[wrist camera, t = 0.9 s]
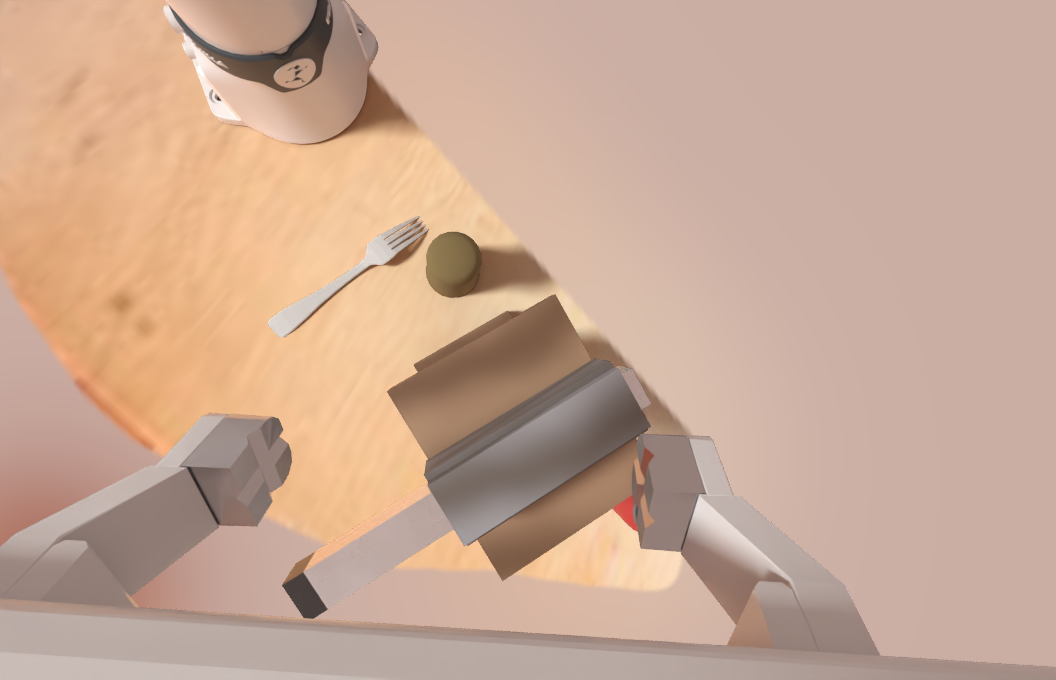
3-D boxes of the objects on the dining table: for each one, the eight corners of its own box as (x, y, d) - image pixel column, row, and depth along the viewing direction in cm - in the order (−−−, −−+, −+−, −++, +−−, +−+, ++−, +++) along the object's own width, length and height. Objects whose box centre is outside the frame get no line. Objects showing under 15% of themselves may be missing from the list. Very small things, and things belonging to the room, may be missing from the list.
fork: (273, 321, 55) (261, 322, 52) (419, 210, 55) (416, 206, 52) (289, 340, 55) (279, 343, 52) (435, 230, 55) (432, 227, 53)
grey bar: (296, 563, 27) (281, 585, 25) (617, 365, 30) (632, 368, 28) (318, 597, 28) (306, 622, 25) (635, 398, 31) (651, 403, 28)
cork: (462, 235, 55) (466, 212, 45) (488, 281, 56) (499, 269, 45) (415, 261, 55) (408, 243, 44) (443, 307, 55) (442, 301, 44)
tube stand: (414, 363, 55) (376, 402, 25) (505, 311, 56) (574, 287, 26) (476, 467, 56) (512, 624, 26) (564, 413, 58) (692, 502, 28)
